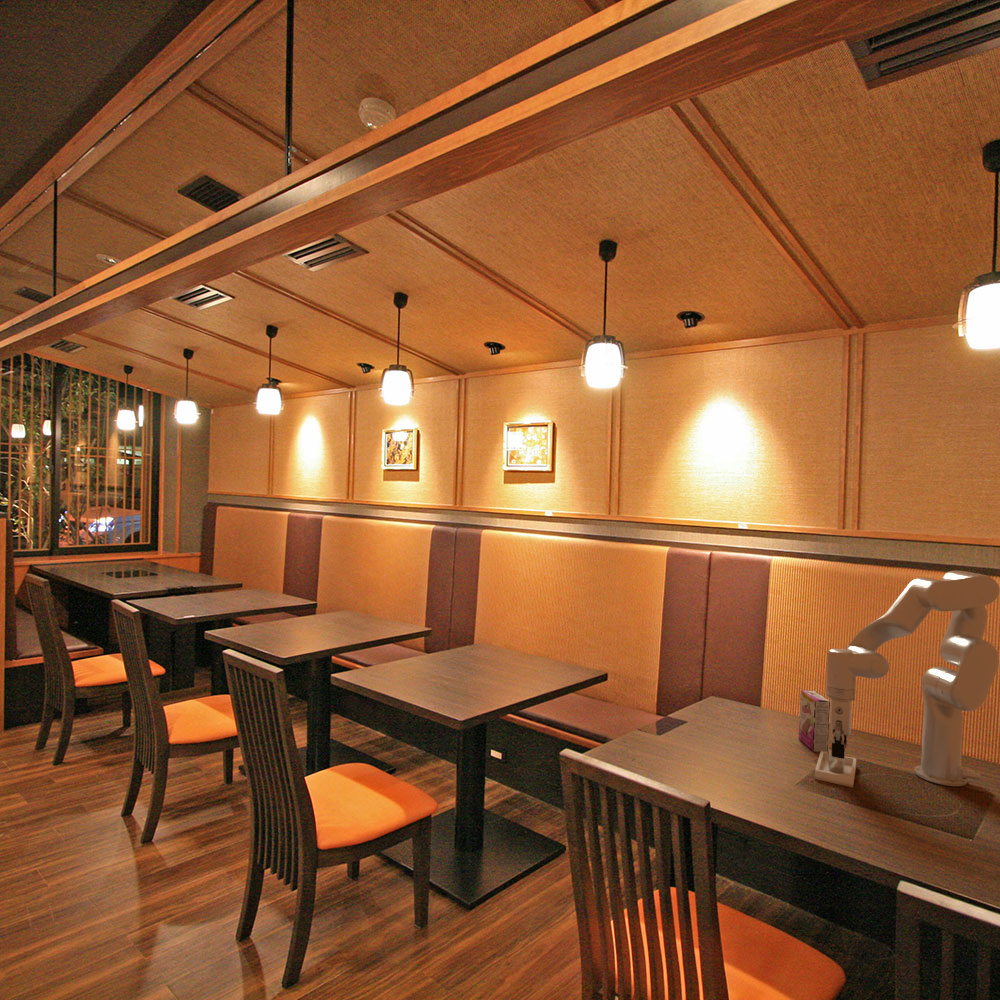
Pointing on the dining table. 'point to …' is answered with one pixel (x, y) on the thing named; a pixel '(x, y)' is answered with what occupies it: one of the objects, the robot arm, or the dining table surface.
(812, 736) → the candy bar box
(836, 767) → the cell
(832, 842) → the dining table surface
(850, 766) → the white rectangular tray
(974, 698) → the robot arm
